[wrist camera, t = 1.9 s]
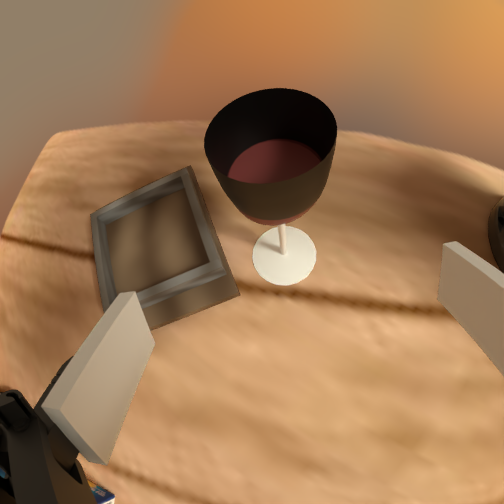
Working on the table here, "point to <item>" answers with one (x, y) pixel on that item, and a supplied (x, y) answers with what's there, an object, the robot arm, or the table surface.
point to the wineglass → (274, 171)
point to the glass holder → (161, 250)
